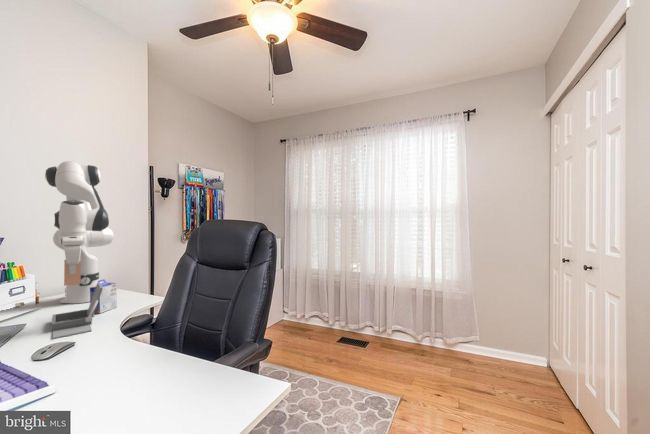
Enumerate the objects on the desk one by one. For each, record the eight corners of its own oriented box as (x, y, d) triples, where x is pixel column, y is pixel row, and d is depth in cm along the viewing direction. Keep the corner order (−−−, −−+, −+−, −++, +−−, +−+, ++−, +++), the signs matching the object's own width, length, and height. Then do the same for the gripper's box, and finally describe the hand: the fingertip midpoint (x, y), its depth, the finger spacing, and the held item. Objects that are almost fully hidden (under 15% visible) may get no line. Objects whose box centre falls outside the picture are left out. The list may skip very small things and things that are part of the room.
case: (52, 321, 120) (53, 287, 120) (99, 313, 130) (99, 281, 130) (51, 333, 108) (52, 295, 108) (102, 323, 119) (103, 288, 119)
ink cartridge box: (107, 306, 140) (107, 277, 140) (117, 307, 140) (118, 278, 140) (88, 313, 131) (89, 282, 131) (99, 314, 130) (100, 282, 130)
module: (64, 283, 118) (64, 258, 118) (80, 281, 121) (80, 257, 121) (64, 285, 114) (64, 259, 114) (80, 283, 117) (80, 258, 117)
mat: (53, 332, 109) (53, 331, 109) (90, 325, 116) (90, 324, 116) (52, 339, 103) (52, 337, 103) (91, 331, 111) (91, 330, 111)
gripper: (62, 238, 123) (62, 270, 123) (62, 241, 108) (61, 277, 108) (81, 237, 127) (81, 268, 127) (83, 240, 112) (83, 275, 112)
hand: (72, 272), depth 118 cm, fingers closed on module, 5 cm apart
